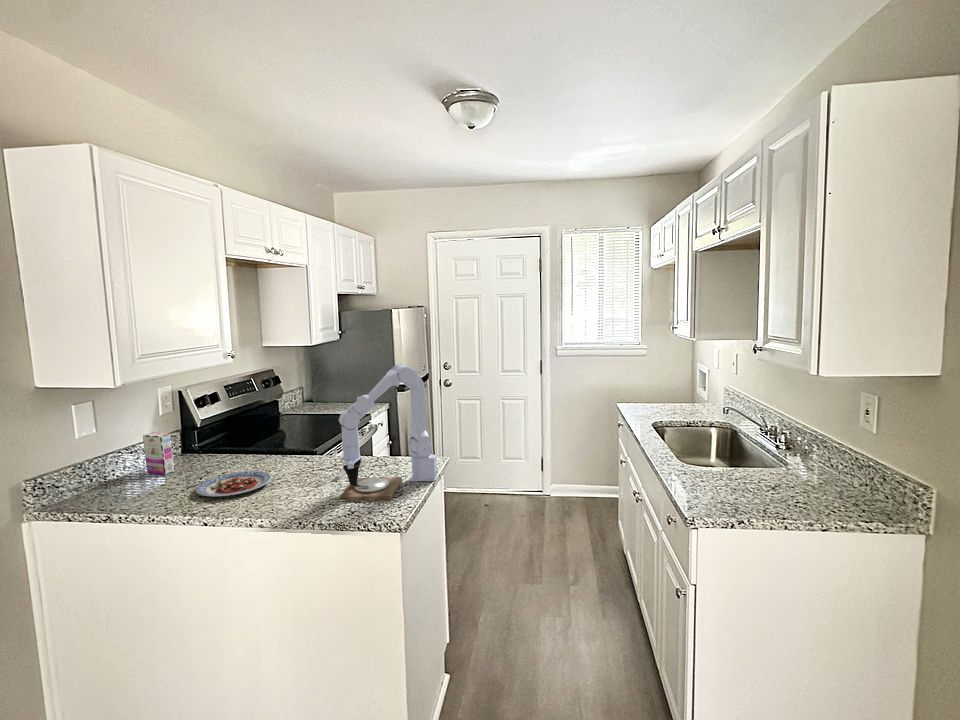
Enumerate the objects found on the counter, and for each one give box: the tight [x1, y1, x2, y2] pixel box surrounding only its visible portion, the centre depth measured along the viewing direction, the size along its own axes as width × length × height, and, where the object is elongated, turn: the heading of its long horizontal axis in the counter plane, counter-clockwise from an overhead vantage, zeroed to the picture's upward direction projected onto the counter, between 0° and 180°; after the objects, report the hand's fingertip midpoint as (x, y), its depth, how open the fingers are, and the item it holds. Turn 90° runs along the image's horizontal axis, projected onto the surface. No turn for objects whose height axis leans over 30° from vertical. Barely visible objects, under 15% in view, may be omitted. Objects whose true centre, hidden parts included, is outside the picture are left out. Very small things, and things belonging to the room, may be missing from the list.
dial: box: [348, 477, 389, 493], centre depth 187 cm, size 14×12×5 cm
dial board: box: [339, 476, 403, 501], centre depth 188 cm, size 18×18×2 cm
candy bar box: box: [142, 432, 176, 476], centre depth 217 cm, size 11×5×16 cm, turn 68°
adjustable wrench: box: [333, 457, 367, 482], centre depth 211 cm, size 25×6×2 cm, turn 166°
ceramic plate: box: [195, 470, 272, 498], centre depth 197 cm, size 26×26×3 cm
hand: (353, 481), depth 186 cm, fingers open, 4 cm apart
